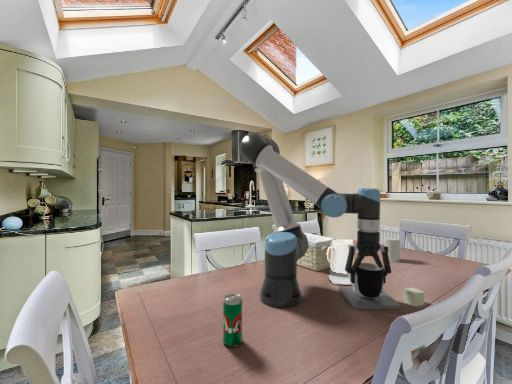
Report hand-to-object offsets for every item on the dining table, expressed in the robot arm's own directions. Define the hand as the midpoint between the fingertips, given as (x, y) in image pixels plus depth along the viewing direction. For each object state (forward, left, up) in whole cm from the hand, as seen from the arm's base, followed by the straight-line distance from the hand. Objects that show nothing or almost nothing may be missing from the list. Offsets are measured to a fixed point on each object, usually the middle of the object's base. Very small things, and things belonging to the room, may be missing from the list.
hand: (367, 291), depth 95 cm
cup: (+35, +51, -3) cm, 62 cm away
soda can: (-47, -27, -3) cm, 54 cm away
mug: (-1, 0, 0) cm, 1 cm away
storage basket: (-13, +43, -3) cm, 45 cm away
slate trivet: (0, 0, -3) cm, 3 cm away
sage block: (+15, -3, -3) cm, 16 cm away
